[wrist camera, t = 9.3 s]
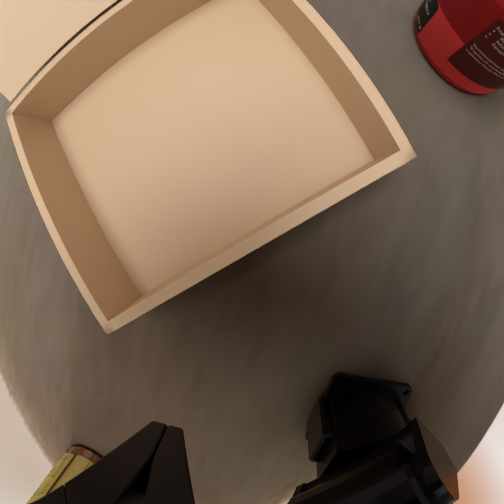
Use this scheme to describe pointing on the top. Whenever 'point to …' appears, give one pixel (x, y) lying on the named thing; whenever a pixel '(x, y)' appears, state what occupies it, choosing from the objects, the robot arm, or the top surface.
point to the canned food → (464, 42)
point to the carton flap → (38, 35)
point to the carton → (194, 141)
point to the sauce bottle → (66, 470)
